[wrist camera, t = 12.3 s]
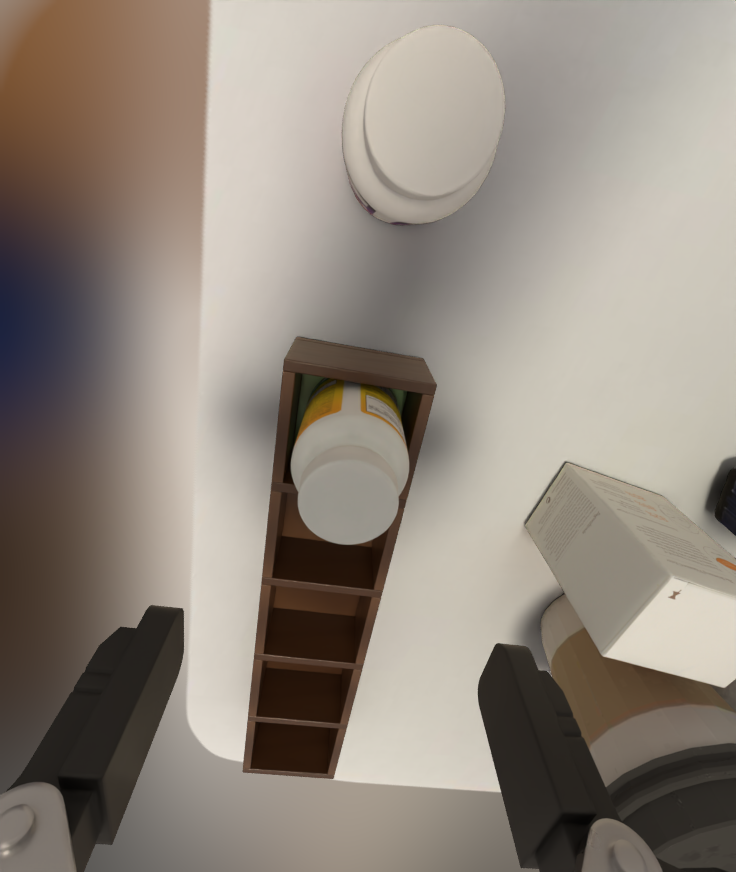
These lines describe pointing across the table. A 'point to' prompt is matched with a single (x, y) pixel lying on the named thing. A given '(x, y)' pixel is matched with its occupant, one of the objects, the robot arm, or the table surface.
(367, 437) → the supplement bottle
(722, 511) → the book
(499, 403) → the table surface
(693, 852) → the coffee cup
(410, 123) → the pill bottle
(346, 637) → the grid
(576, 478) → the small box
